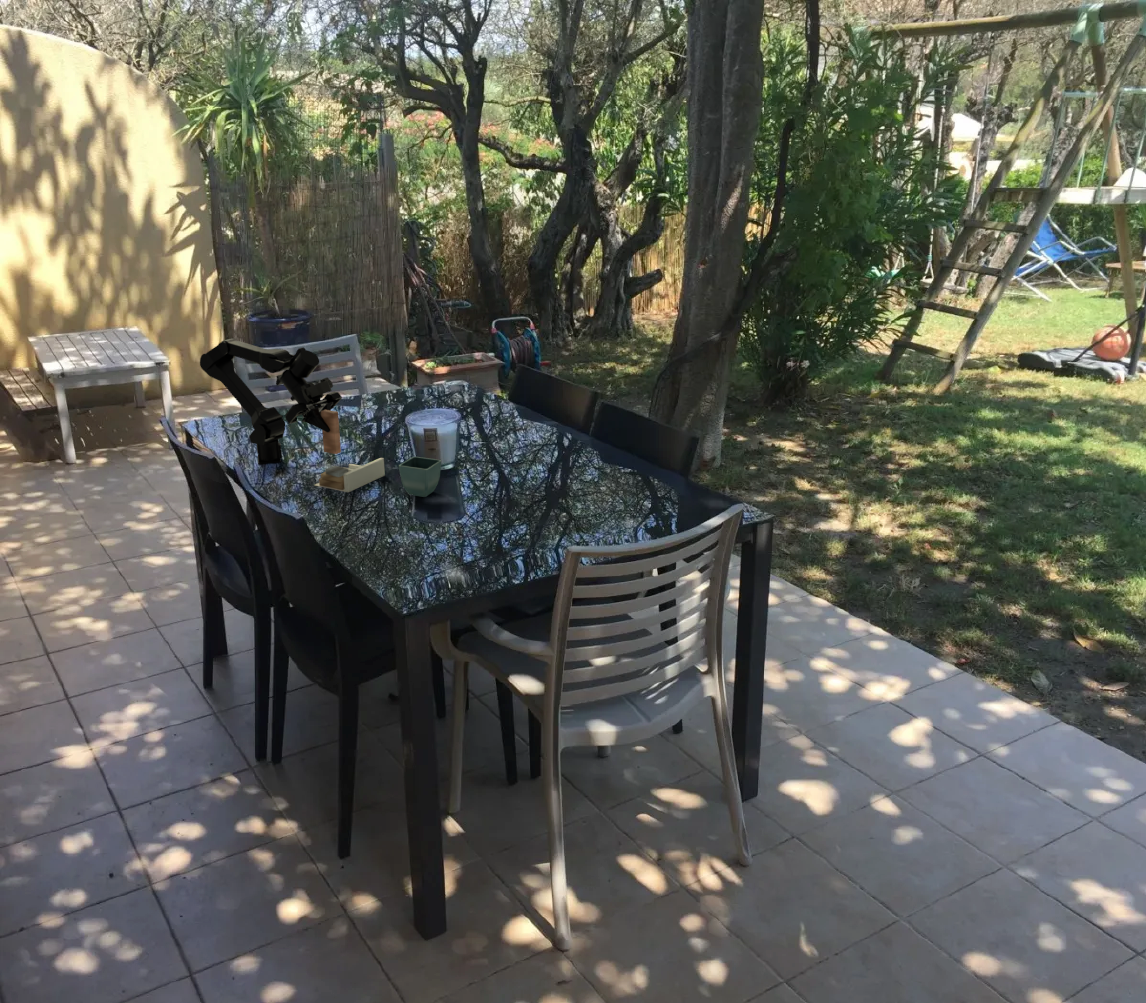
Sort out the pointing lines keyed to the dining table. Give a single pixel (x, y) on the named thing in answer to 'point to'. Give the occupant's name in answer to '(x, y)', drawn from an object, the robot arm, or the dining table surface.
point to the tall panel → (331, 432)
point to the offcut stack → (333, 477)
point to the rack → (361, 474)
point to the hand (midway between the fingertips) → (331, 430)
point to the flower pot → (420, 475)
